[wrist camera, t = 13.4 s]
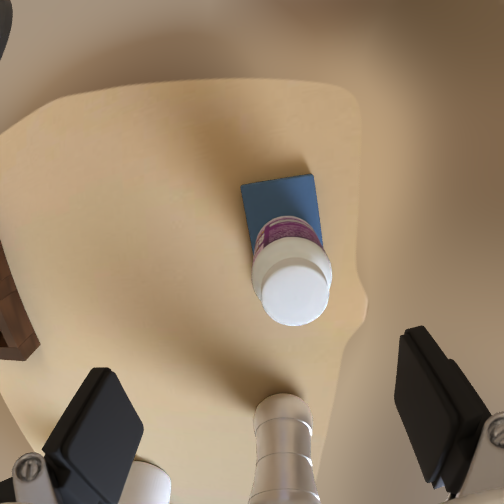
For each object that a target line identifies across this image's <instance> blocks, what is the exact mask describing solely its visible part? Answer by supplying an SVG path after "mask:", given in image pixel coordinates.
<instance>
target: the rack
mask: <svg viewBox="0 0 504 504" xmlns="http://www.w3.org/2000/svg"><path fill="white" fill-rule="evenodd" d="M0 330H1V332H0V359H3V360H16V361H25V360H26V359H27V358H28V357H29V356H30V355H31V354H32V353H33V352H34V351H35V350H36V349H37V348H38V347H39V346H40V342H39V340H38V338H37V336H36V334H35V332H34V329H33V327H32V325H31V323H30V320H29V318H28V316H27V313H26V311H25V309H24V306H23V304H22V301H21V299H20V296H19V294H18V291H17V289H16V286H15V283H14V281H13V278H12V275H11V272H10V269H9V266H8V263H7V260H6V257H5V254H4V251H3V248H2V244H1V241H0Z"/></svg>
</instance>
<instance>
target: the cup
mask: <svg viewBox="0 0 504 504" xmlns="http://www.w3.org/2000/svg"><path fill="white" fill-rule="evenodd" d="M170 492H171V481H170V478H169V476H168V475H167V474H166V473H165V472H164V471H163V470H161V469H160V468H158V467H156V466H154V465H152V464H149V463H146V462H141V461H133V462H132V465H131V468H130V471H129V474H128V477H127V480H126V483H125V485H124V488H123V491H122V494H121V497H120V500H119V503H118V504H169V500H170Z"/></svg>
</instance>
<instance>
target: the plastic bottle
mask: <svg viewBox="0 0 504 504" xmlns="http://www.w3.org/2000/svg"><path fill="white" fill-rule="evenodd" d="M253 424H254V432H255V436H256V449H257V462H256V470H255V477H254V483H253V487H252V491H251V494H250V498H249V502H248V504H321V503H320V500H319V496H318V492H317V489H316V485H315V481H314V476H313V469H312V462H311V435H312V430H313V416H312V413H311V410H310V407H309V406H308V404H307V403H306V402H305V401H304V400H302V399H301V398H299V397H298V396H295V395H292V394H286V393H282V394H275V395H272V396H269V397H267V398H266V399H265V400H263V401H262V402H261V403H260V404H259V405H258V406H257V408H256V411H255V414H254V418H253Z"/></svg>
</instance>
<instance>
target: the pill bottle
mask: <svg viewBox="0 0 504 504" xmlns="http://www.w3.org/2000/svg"><path fill="white" fill-rule="evenodd" d="M331 281H332V269H331V264H330V261H329V258H328V256H327V254H326V253H325V251H324V249H323V247H322V245H321V243H320V241H319V239H318V237H317V235H316V233H315V231H314V229H313V228H312V227H311V226H310V225H309V224H308V223H307V222H306V221H304V220H302V219H300V218H298V217H294V216H281V217H277V218H274V219H272V220H271V221H269V222H268V223H266V224H265V225H264V226H263V228H262V229H261V230H260V232H259V234H258V236H257V239H256V244H255V251H254V258H253V265H252V285H253V288H254V291H255V293H256V295H257V297H258V298H259V299H260V301H261V302H262V305H263V308H264V310H265V311H266V313H267V314H268V315H269V316H270V317H271V318H272V319H273V320H275V321H276V322H278V323H281V324H284V325H288V326H300V325H304V324H307V323H309V322H311V321H313V320H315V319H316V318H317V317H319V316H320V315H321V313H322V312H323V311H324V309H325V308H326V306H327V303H328V299H329V288H330V285H331Z"/></svg>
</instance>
